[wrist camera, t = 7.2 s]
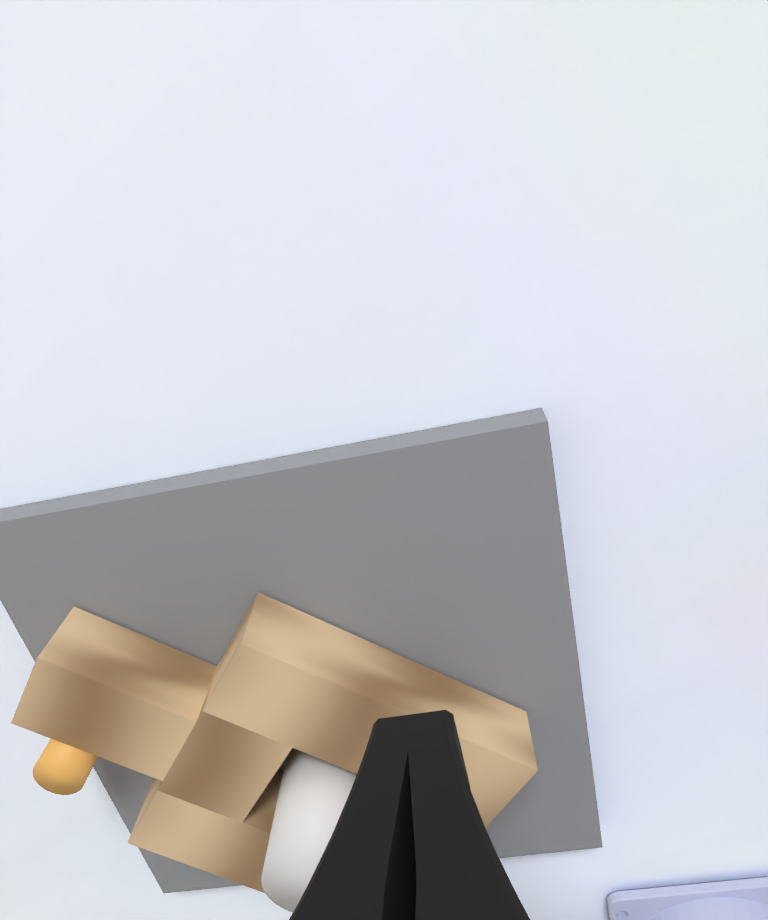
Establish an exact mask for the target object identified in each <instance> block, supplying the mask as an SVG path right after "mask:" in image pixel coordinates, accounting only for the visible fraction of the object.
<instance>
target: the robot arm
mask: <svg viewBox="0 0 768 920" xmlns="http://www.w3.org/2000/svg"><path fill="white" fill-rule="evenodd" d="M607 904H608V912H609V920H768V877H760V878H750V879H739V880H729V881H719V882H708V883H698V884H688V885H677V886H667V887H657V888H646V889H636V890H626V891H617V892H613V893H611V894H610V895H609V896H608V898H607ZM289 920H530V919H529V917H528V915H527V913H526V911H525V909H524V907H523V906H522V904H521V902H520V900H519V898H518V896H517V894H516V892H515V890H514V888H513V886H512V884H511V882H510V880H509V878H508V876H507V874H506V872H505V870H504V868H503V866H502V863H501V861H500V859H499V857H498V855H497V853H496V850H495V848H494V846H493V844H492V842H491V839H490V837H489V835H488V833H487V830H486V828H485V826H484V823H483V821H482V818H481V816H480V813H479V810H478V808H477V805H476V803H475V800H474V798H473V795H472V793H471V789H470V783H469V779H468V775H467V771H466V766H465V762H464V758H463V754H462V749H461V745H460V741H459V737H458V733H457V728H456V724H455V720H454V716H453V714H452V713H451V712H449V711H447V710H440V711H432V712H425V713H417V714H410V715H402V716H395V717H387V718H380V719H378V720H377V721H376V722H375V723H374V724H373V727H372V731H371V734H370V738H369V741H368V744H367V747H366V750H365V753H364V756H363V759H362V762H361V764H360V767H359V770H358V773H357V775H356V778H355V780H354V783H353V786H352V788H351V791H350V793H349V796H348V798H347V801H346V803H345V805H344V808H343V810H342V812H341V815H340V817H339V820H338V822H337V824H336V827H335V829H334V831H333V834H332V836H331V838H330V840H329V842H328V844H327V846H326V849H325V851H324V853H323V855H322V857H321V859H320V861H319V863H318V865H317V867H316V869H315V871H314V873H313V875H312V878H311V880H310V882H309V884H308V886H307V888H306V889H305V891H304V893H303V895H302V897H301V899H300V901H299V903H298V905H297V906H296V908H295V910H294V912H293V914H292V916H291V917H290V919H289Z"/></svg>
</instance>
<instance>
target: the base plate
mask: <svg viewBox="0 0 768 920" xmlns="http://www.w3.org/2000/svg"><path fill="white" fill-rule="evenodd" d="M258 592H259V593H261V594H264V595H266V596H268V597H270V598H273V599H275V600H277V601H279V602H282V603H284V604H286V605H288V606H291V607H293V608H295V609H297V610H299V611H302V612H304V613H306V614H308V615H311V616H313V617H315V618H317V619H320V620H322V621H324V622H326V623H329V624H331V625H333V626H335V627H338V628H340V629H342V630H344V631H347V632H349V633H351V634H353V635H356V636H358V637H360V638H362V639H365V640H367V641H369V642H371V643H374V644H376V645H378V646H380V647H383V648H385V649H387V650H389V651H392V652H394V653H396V654H398V655H401V656H403V657H405V658H407V659H410V660H412V661H414V662H416V663H419V664H421V665H423V666H425V667H428V668H430V669H432V670H434V671H437V672H439V673H441V674H443V675H445V676H448V677H450V678H452V679H454V680H457V681H459V682H461V683H463V684H466V685H468V686H470V687H472V688H475V689H477V690H479V691H481V692H484V693H486V694H488V695H490V696H493V697H495V698H497V699H499V700H502V701H504V702H506V703H508V704H511V705H513V706H515V707H517V708H520V709H522V710H524V711H526V712H527V717H528V722H529V727H530V732H531V738H532V743H533V748H534V753H535V758H536V763H537V768H538V771H537V772H536V773H535V774H534V775H533V776H532V778H531V779H530V780H529V781H528V782H527V783H526V784H525V785H524V786H523V787H522V788H521V790H520V791H519V792H518V793H517V794H516V795H515V796H514V797H513V798H512V799H511V800H510V802H509V803H508V804H507V805H506V806H505V807H504V808H503V809H502V810H501V811H500V812H499V814H498V815H497V816H496V817H495V818H494V819H493V820H492V821H491V822H490V823H489V824H488V826H487V827H486V830H487V833H488V835H489V837H490V839H491V842H492V844H493V846H494V848H495V850H496V853H497V855H498V857H499V858H505V857H514V856H524V855H533V854H543V853H553V852H562V851H572V850H581V849H591V848H600V847H602V840H601V832H600V824H599V817H598V809H597V801H596V793H595V785H594V778H593V770H592V762H591V754H590V746H589V739H588V731H587V723H586V715H585V708H584V700H583V692H582V684H581V676H580V669H579V661H578V653H577V645H576V637H575V630H574V622H573V614H572V606H571V599H570V591H569V583H568V575H567V567H566V560H565V552H564V544H563V536H562V528H561V521H560V513H559V505H558V497H557V490H556V482H555V474H554V466H553V458H552V451H551V443H550V435H549V427H548V421H547V419H546V416H545V414H544V412H543V410H542V408H539V409H534V410H529V411H523V412H518V413H513V414H507V415H502V416H497V417H491V418H486V419H480V420H475V421H470V422H464V423H459V424H454V425H448V426H443V427H438V428H432V429H427V430H422V431H416V432H411V433H405V434H400V435H395V436H389V437H384V438H379V439H373V440H368V441H363V442H357V443H352V444H347V445H341V446H336V447H330V448H325V449H320V450H314V451H309V452H304V453H298V454H293V455H288V456H282V457H277V458H272V459H266V460H261V461H256V462H250V463H245V464H239V465H234V466H229V467H223V468H218V469H213V470H207V471H202V472H197V473H191V474H186V475H181V476H175V477H170V478H164V479H159V480H154V481H148V482H143V483H138V484H132V485H127V486H122V487H116V488H111V489H106V490H100V491H95V492H89V493H84V494H79V495H73V496H68V497H63V498H57V499H52V500H47V501H41V502H36V503H31V504H25V505H20V506H15V507H9V508H4V509H0V600H1V602H2V603H3V605H4V607H5V609H6V611H7V612H8V614H9V616H10V618H11V620H12V621H13V623H14V625H15V627H16V629H17V630H18V632H19V634H20V636H21V638H22V639H23V641H24V643H25V645H26V647H27V648H28V650H29V652H30V654H31V656H32V657H33V659H34V661H35V662H36V660H37V657H38V656H39V655H40V653H41V652H42V650H43V649H44V648H45V646H46V645H47V644H48V642H49V641H50V639H51V638H52V637H53V635H54V634H55V632H56V631H57V630H58V628H59V627H60V625H61V624H62V623H63V621H64V620H65V618H66V617H67V616H68V614H69V613H70V611H71V610H72V609H73V607H77V608H79V609H81V610H84V611H86V612H89V613H91V614H93V615H96V616H98V617H100V618H103V619H105V620H108V621H110V622H112V623H115V624H117V625H119V626H122V627H124V628H127V629H129V630H131V631H134V632H136V633H139V634H141V635H143V636H146V637H148V638H150V639H153V640H155V641H158V642H160V643H162V644H165V645H167V646H169V647H172V648H174V649H177V650H179V651H181V652H184V653H186V654H188V655H191V656H193V657H196V658H198V659H200V660H203V661H205V662H208V663H210V664H212V665H215V666H217V665H218V664H219V662H220V660H221V658H222V656H223V655H224V653H225V651H226V649H227V647H228V646H229V644H230V642H231V640H232V638H233V637H234V635H235V633H236V631H237V630H238V628H239V626H240V624H241V622H242V621H243V619H244V617H245V615H246V613H247V612H248V610H249V608H250V606H251V604H252V603H253V601H254V599H255V597H256V596H257V594H258ZM92 767H94V769H95V771H96V772H97V774H98V776H99V778H100V780H101V781H102V783H103V785H104V787H105V789H106V790H107V792H108V794H109V796H110V798H111V799H112V801H113V803H114V805H115V807H116V808H117V810H118V812H119V814H120V816H121V817H122V819H123V821H124V823H125V824H126V826H127V828H128V830H129V832H130V833H132V831H133V828H134V826H135V823H136V821H137V818H138V816H139V813H140V811H141V808H142V806H143V803H144V801H145V799H146V796H147V794H148V791H149V789H150V786H151V784H152V782H153V780H154V778H153V777H150V776H148V775H145V774H143V773H140V772H137V771H135V770H132V769H130V768H127V767H124V766H122V765H119V764H117V763H114V762H111V761H109V760H106V759H103V758H101V757H98V756H96V755H93V754H90V753H88V752H85V751H83V750H80V749H77V748H75V747H72V746H70V745H67V744H64V743H62V742H59V741H57V740H54V739H50V741H49V743H48V744H47V746H46V748H45V749H44V751H43V753H42V755H41V756H40V758H39V760H38V761H37V763H36V765H35V766H34V768H33V776H34V779H35V780H36V782H37V783H38V784H39V785H40V786H41V787H42V788H44V789H46V790H47V791H50V792H52V793H55V794H61V795H69V794H73V793H76V792H78V791H79V790H81V788H82V787H83V785H84V783H85V781H86V779H87V777H88V775H89V773H90V771H91V769H92ZM277 771H279V772H281V773H283V774H282V779H281V784H280V788H279V793H278V798H277V803H276V808H275V813H274V818H273V823H272V828H271V833H270V837H269V842H268V847H267V852H266V857H265V862H264V867H263V872H262V877H261V883H262V887H263V890H264V891H265V893H266V895H267V896H268V897H269V898H270V899H271V900H272V901H273V902H274V903H276V904H277V905H279V906H280V907H282V908H284V909H286V910H288V911H291V912H294V910H295V908H296V906H297V905H298V903H299V901H300V899H301V897H302V895H303V893H304V891H305V889H306V888H307V886H308V884H309V882H310V880H311V878H312V875H313V873H314V871H315V869H316V867H317V865H318V863H319V861H320V859H321V857H322V855H323V853H324V851H325V849H326V846H327V844H328V842H329V840H330V838H331V836H332V834H333V831H334V829H335V827H336V824H337V822H338V820H339V817H340V815H341V812H342V810H343V808H344V805H345V803H346V801H347V798H348V796H349V793H350V791H351V788H352V786H353V783H354V780H355V778H356V775H357V774H356V773H353V772H351V771H349V770H346V769H344V768H341V767H339V766H336V765H334V764H331V763H329V762H326V761H324V760H321V759H319V758H317V757H314V756H312V755H309V754H307V753H304V752H302V751H299V750H297V749H294V748H292V749H291V751H290V752H289V754H288V755H287V757H286V758H285V760H284V761H283V763H282V764H281V766H280V767H279V769H278V770H277ZM138 848H139V850H140V851H141V853H142V855H143V857H144V859H145V860H146V862H147V864H148V866H149V868H150V869H151V871H152V873H153V875H154V877H155V878H156V880H157V882H158V884H159V886H160V887H161V889H162V891H163V893H171V892H181V891H190V890H200V889H209V888H219V887H228V886H238V885H242V884H239V883H236V882H234V881H231V880H228V879H225V878H223V877H220V876H217V875H214V874H212V873H209V872H206V871H203V870H201V869H198V868H195V867H192V866H190V865H187V864H184V863H181V862H179V861H176V860H173V859H170V858H168V857H165V856H162V855H159V854H157V853H154V852H151V851H148V850H146V849H143V848H140V847H138Z"/></svg>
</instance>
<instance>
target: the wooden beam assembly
mask: <svg viewBox="0 0 768 920" xmlns="http://www.w3.org/2000/svg"><path fill="white" fill-rule="evenodd" d="M440 710H447V711H449V712H451V713H452V714H453V716H454V720H455V724H456V728H457V733H458V737H459V741H460V745H461V749H462V754H463V758H464V762H465V766H466V771H467V775H468V779H469V783H470V789H471V793H472V795H473V798H474V800H475V803H476V805H477V808H478V810H479V813H480V816H481V818H482V821H483V823H484V826H485V828H486V827H487V826H488V824H489V823H490V822H491V821H492V820H493V819H494V818H495V817H496V816H497V815H498V814H499V812H500V811H501V810H502V809H503V808H504V807H505V806H506V805H507V804H508V803H509V802H510V800H511V799H512V798H513V797H514V796H515V795H516V794H517V793H518V792H519V791H520V790H521V788H522V787H523V786H524V785H525V784H526V783H527V782H528V781H529V780H530V779H531V778H532V776H533V775H534V774H535V773H536V772H537V771H538V768H537V763H536V758H535V753H534V748H533V743H532V738H531V732H530V727H529V722H528V717H527V712H526V711H524V710H522V709H520V708H517V707H515V706H513V705H511V704H508V703H506V702H504V701H502V700H499V699H497V698H495V697H493V696H490V695H488V694H486V693H484V692H481V691H479V690H477V689H475V688H472V687H470V686H468V685H466V684H463V683H461V682H459V681H457V680H454V679H452V678H450V677H448V676H445V675H443V674H441V673H439V672H437V671H434V670H432V669H430V668H428V667H425V666H423V665H421V664H419V663H416V662H414V661H412V660H410V659H407V658H405V657H403V656H401V655H398V654H396V653H394V652H392V651H389V650H387V649H385V648H383V647H380V646H378V645H376V644H374V643H371V642H369V641H367V640H365V639H362V638H360V637H358V636H356V635H353V634H351V633H349V632H347V631H344V630H342V629H340V628H338V627H335V626H333V625H331V624H329V623H326V622H324V621H322V620H320V619H317V618H315V617H313V616H311V615H308V614H306V613H304V612H302V611H299V610H297V609H295V608H293V607H291V606H288V605H286V604H284V603H282V602H279V601H277V600H275V599H273V598H270V597H268V596H266V595H264V594H261V593H259V592H258V594H257V596H256V597H255V599H254V601H253V603H252V604H251V606H250V608H249V610H248V612H247V613H246V615H245V617H244V619H243V621H242V622H241V624H240V626H239V628H238V630H237V631H236V633H235V635H234V637H233V638H232V640H231V642H230V644H229V646H228V647H227V649H226V651H225V653H224V655H223V656H222V658H221V660H220V662H219V664H218V665H217V666H215V665H212V664H210V663H208V662H205V661H203V660H200V659H198V658H196V657H193V656H191V655H188V654H186V653H184V652H181V651H179V650H177V649H174V648H172V647H169V646H167V645H165V644H162V643H160V642H158V641H155V640H153V639H150V638H148V637H146V636H143V635H141V634H139V633H136V632H134V631H131V630H129V629H127V628H124V627H122V626H119V625H117V624H115V623H112V622H110V621H108V620H105V619H103V618H100V617H98V616H96V615H93V614H91V613H89V612H86V611H84V610H81V609H79V608H77V607H73V609H72V610H71V611H70V613H69V614H68V616H67V617H66V618H65V620H64V621H63V623H62V624H61V625H60V627H59V628H58V630H57V631H56V632H55V634H54V635H53V637H52V638H51V639H50V641H49V642H48V644H47V645H46V646H45V648H44V649H43V650H42V652H41V653H40V655H39V656H38V657H37V660H36V662H35V665H34V667H33V670H32V672H31V675H30V677H29V680H28V682H27V685H26V687H25V690H24V692H23V695H22V697H21V700H20V702H19V705H18V707H17V710H16V712H15V715H14V717H13V720H12V722H11V723H12V724H15V725H17V726H20V727H23V728H25V729H28V730H30V731H33V732H36V733H38V734H41V735H43V736H46V737H49V738H51V739H54V740H57V741H59V742H62V743H64V744H67V745H70V746H72V747H75V748H77V749H80V750H83V751H85V752H88V753H90V754H93V755H96V756H98V757H101V758H103V759H106V760H109V761H111V762H114V763H117V764H119V765H122V766H124V767H127V768H130V769H132V770H135V771H137V772H140V773H143V774H145V775H148V776H150V777H153V778H154V780H153V782H152V784H151V786H150V789H149V791H148V794H147V796H146V799H145V801H144V803H143V806H142V808H141V811H140V813H139V816H138V818H137V821H136V823H135V826H134V828H133V831H132V833H131V836H130V838H129V841H128V843H129V844H132V845H135V846H137V847H140V848H143V849H146V850H148V851H151V852H154V853H157V854H159V855H162V856H165V857H168V858H170V859H173V860H176V861H179V862H181V863H184V864H187V865H190V866H192V867H195V868H198V869H201V870H203V871H206V872H209V873H212V874H214V875H217V876H220V877H223V878H225V879H228V880H231V881H234V882H236V883H239V884H242V885H245V886H247V887H250V888H253V889H256V890H258V891H261V892H264V893H265V891H264V890H263V887H262V883H261V877H262V872H263V867H264V862H265V857H266V852H267V847H268V842H269V837H270V833H271V828H272V823H273V818H274V813H275V808H276V803H277V798H278V793H279V788H280V784H281V779H282V774H283V773H281V772H279V771H277V770H278V769H279V767H280V766H281V764H282V763H283V761H284V760H285V758H286V757H287V755H288V754H289V752H290V751H291V749H292V748H294V749H297V750H299V751H302V752H304V753H307V754H309V755H312V756H314V757H317V758H319V759H321V760H324V761H326V762H329V763H331V764H334V765H336V766H339V767H341V768H344V769H346V770H349V771H351V772H353V773H356V774H357V773H358V770H359V767H360V764H361V762H362V759H363V756H364V753H365V750H366V747H367V744H368V741H369V738H370V734H371V731H372V727H373V724H374V723H375V722H376V721H377V720H378V719H380V718H387V717H395V716H402V715H410V714H417V713H425V712H432V711H440Z"/></svg>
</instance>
